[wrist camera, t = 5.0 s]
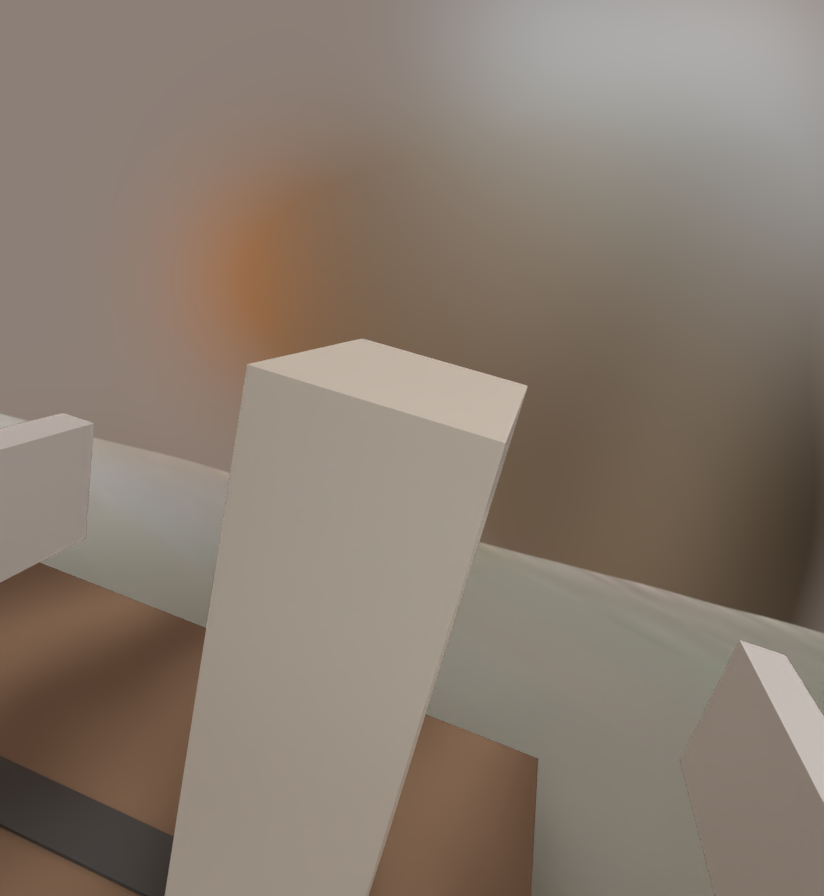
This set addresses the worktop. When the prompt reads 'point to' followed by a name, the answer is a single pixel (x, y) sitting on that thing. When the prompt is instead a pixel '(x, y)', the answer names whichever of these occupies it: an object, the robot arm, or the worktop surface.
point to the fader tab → (331, 611)
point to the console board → (164, 754)
